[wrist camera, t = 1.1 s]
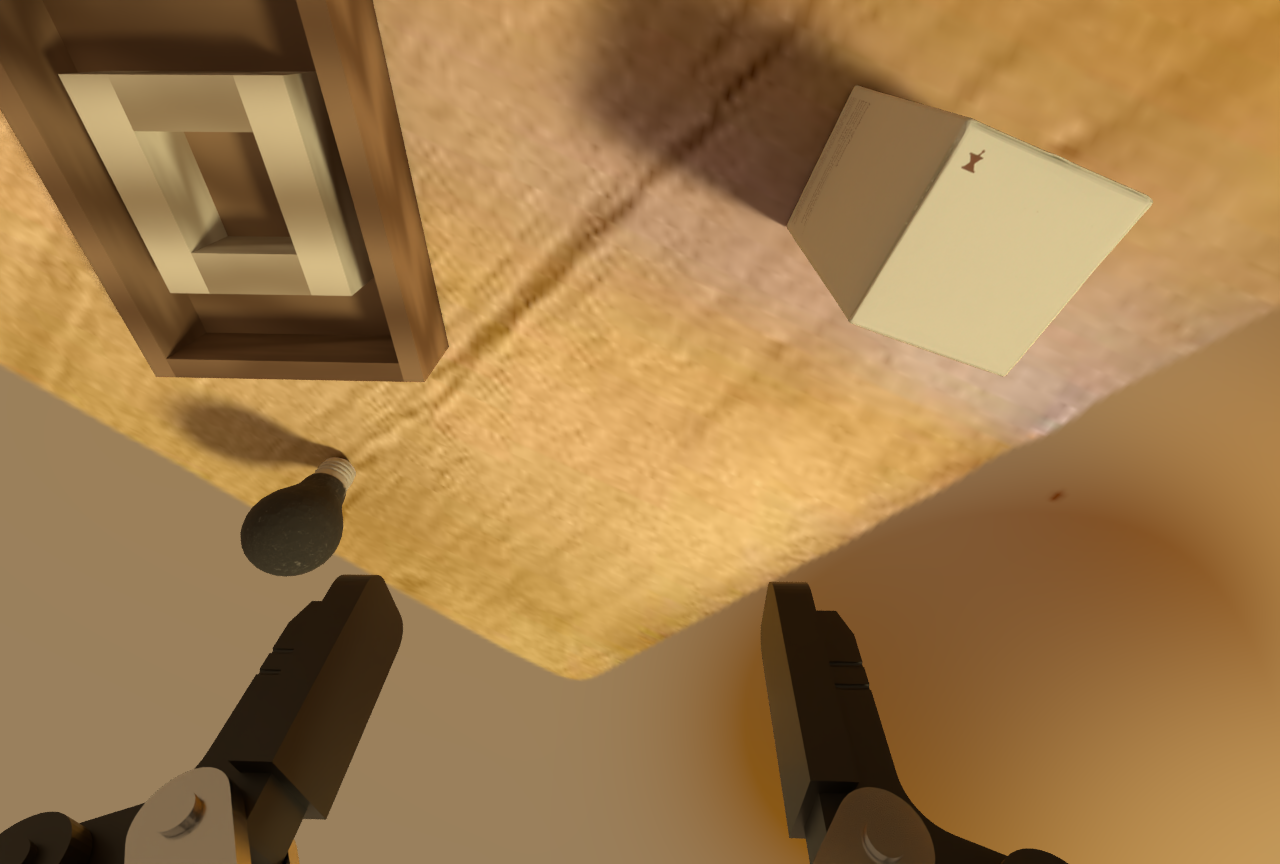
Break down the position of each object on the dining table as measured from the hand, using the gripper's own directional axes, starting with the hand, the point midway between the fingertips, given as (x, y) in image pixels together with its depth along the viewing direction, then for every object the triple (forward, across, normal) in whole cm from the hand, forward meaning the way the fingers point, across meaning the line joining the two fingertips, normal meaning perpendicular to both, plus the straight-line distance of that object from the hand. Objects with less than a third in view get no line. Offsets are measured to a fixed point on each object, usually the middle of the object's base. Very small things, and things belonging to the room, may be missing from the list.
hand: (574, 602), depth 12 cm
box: (+25, +20, -3) cm, 32 cm away
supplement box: (+25, -13, -2) cm, 28 cm away
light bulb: (+24, +22, +16) cm, 37 cm away
